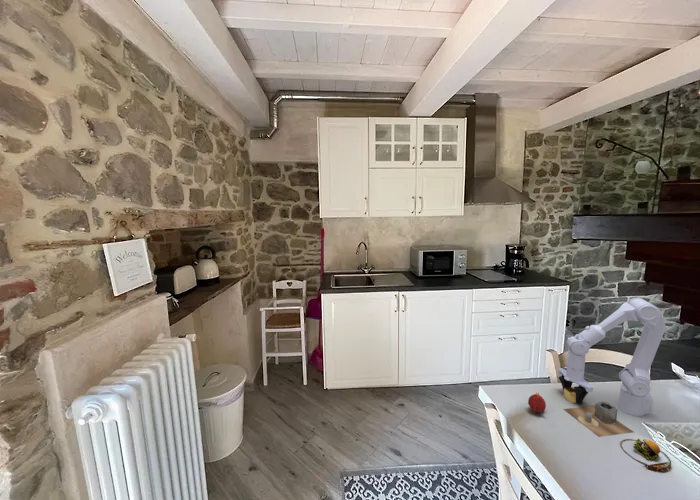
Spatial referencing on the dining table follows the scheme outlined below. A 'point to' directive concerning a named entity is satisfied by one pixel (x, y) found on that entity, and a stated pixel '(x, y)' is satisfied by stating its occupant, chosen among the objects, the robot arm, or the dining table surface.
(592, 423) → the gear board
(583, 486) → the dining table surface
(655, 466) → the burger
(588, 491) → the dining table surface
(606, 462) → the dining table surface
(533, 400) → the red christmas ornament
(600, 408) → the grey stone pot
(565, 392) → the yellow porous cube
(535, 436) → the dining table surface
